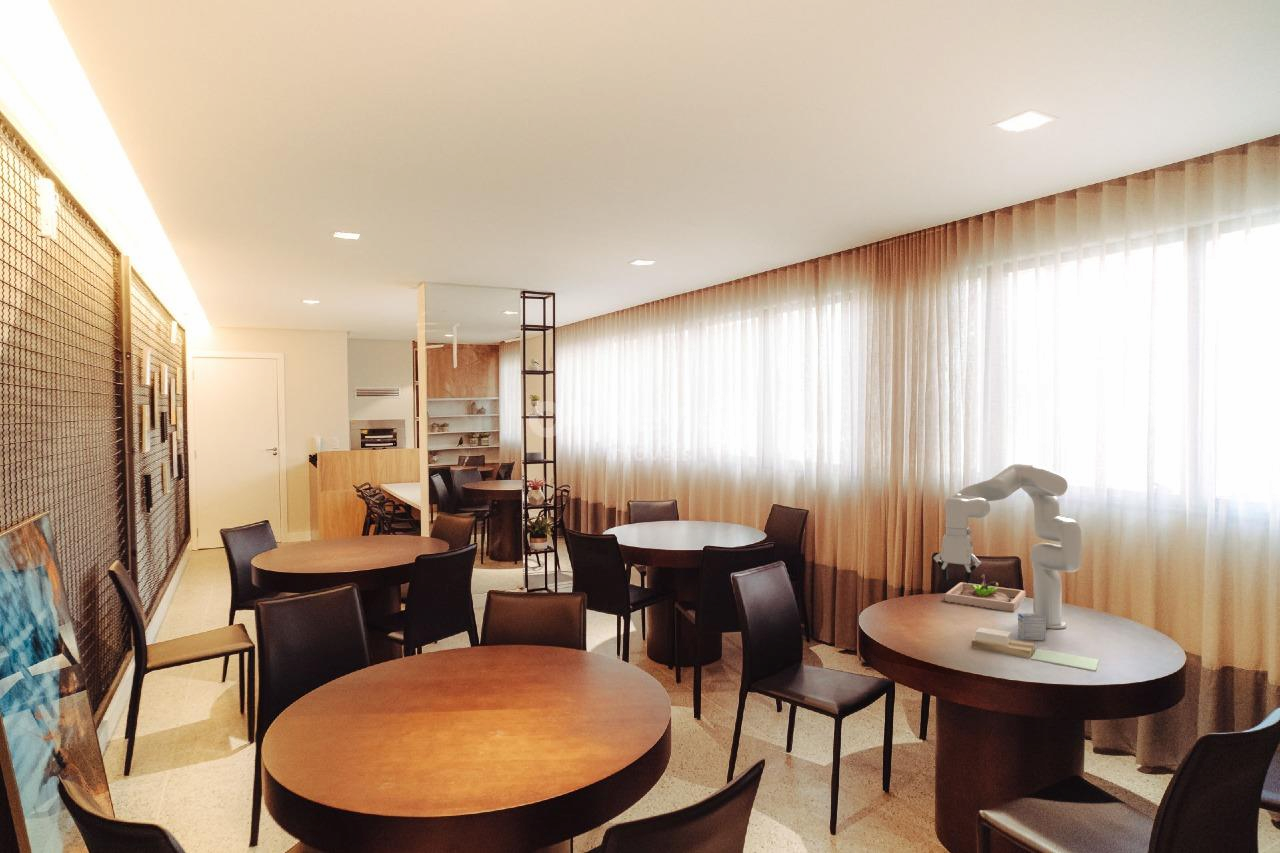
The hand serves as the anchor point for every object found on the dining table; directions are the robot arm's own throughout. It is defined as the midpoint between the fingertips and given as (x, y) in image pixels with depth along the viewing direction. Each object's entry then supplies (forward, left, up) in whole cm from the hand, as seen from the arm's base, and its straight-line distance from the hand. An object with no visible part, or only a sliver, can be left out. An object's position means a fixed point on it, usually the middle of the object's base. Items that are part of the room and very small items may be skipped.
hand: (956, 580), depth 248 cm
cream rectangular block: (0, +12, -19) cm, 23 cm away
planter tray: (-67, -4, -22) cm, 71 cm away
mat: (0, +34, -22) cm, 40 cm away
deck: (0, +15, -22) cm, 26 cm away
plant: (-68, -5, -22) cm, 72 cm away
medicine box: (-19, +21, -22) cm, 36 cm away
